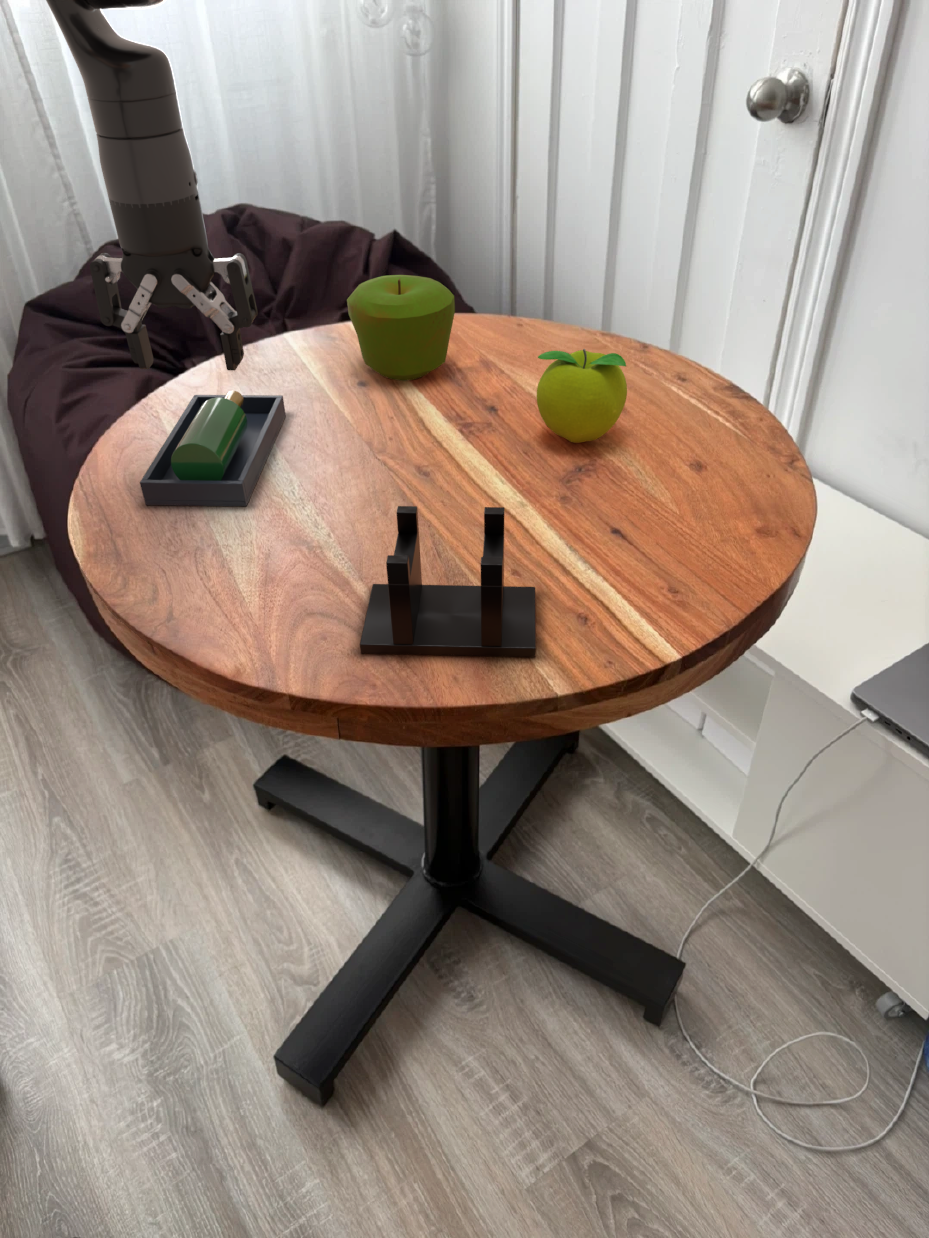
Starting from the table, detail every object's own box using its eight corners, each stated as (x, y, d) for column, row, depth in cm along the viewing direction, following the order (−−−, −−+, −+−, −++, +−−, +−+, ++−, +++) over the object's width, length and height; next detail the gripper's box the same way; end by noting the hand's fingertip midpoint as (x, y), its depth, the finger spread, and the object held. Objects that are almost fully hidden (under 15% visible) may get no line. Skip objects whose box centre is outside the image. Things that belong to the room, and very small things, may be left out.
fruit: (606, 464, 96) (614, 374, 90) (523, 446, 99) (526, 358, 93) (633, 426, 103) (642, 339, 96) (555, 410, 106) (559, 325, 99)
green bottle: (225, 492, 93) (221, 446, 89) (173, 486, 93) (168, 440, 89) (259, 422, 104) (257, 379, 101) (213, 417, 104) (209, 374, 101)
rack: (360, 653, 74) (349, 562, 68) (373, 592, 80) (364, 504, 74) (535, 657, 73) (539, 566, 67) (535, 595, 79) (538, 506, 74)
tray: (246, 506, 91) (242, 483, 90) (145, 505, 92) (139, 482, 90) (286, 416, 106) (282, 395, 104) (198, 415, 106) (194, 394, 105)
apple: (473, 361, 117) (472, 271, 109) (418, 399, 109) (413, 304, 101) (392, 341, 122) (386, 254, 115) (335, 376, 114) (324, 284, 107)
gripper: (54, 200, 77) (105, 383, 87) (222, 200, 76) (254, 384, 86) (87, 177, 83) (131, 350, 93) (244, 177, 82) (271, 352, 92)
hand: (190, 366), depth 90 cm, fingers open, 8 cm apart
